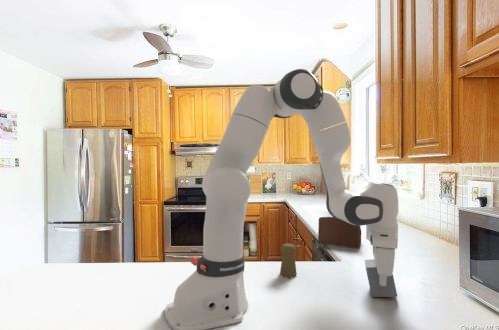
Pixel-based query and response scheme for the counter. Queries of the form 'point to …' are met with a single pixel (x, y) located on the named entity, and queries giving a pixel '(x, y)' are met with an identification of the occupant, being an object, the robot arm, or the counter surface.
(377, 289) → the block
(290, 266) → the cork
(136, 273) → the counter surface
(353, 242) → the letter holder
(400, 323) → the counter surface
